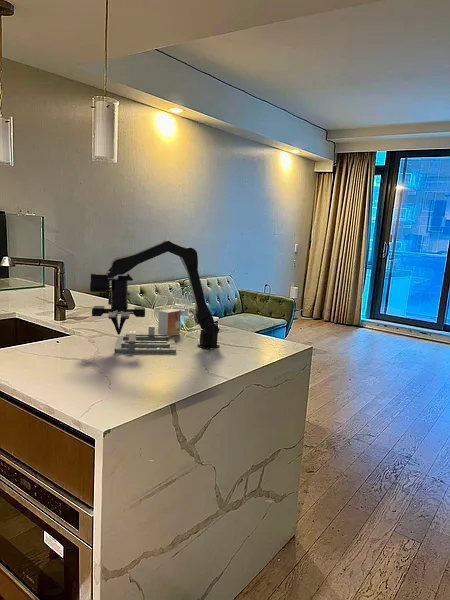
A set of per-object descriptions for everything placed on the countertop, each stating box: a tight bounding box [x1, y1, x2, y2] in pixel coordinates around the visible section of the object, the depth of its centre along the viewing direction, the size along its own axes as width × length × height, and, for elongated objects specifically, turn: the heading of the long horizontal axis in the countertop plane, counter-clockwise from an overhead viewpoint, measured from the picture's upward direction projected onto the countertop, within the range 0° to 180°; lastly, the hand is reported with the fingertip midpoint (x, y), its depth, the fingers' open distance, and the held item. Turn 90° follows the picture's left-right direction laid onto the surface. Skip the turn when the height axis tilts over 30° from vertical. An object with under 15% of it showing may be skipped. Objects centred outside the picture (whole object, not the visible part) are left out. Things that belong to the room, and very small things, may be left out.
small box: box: [157, 308, 182, 337], centre depth 193 cm, size 8×6×10 cm
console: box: [113, 333, 177, 355], centre depth 174 cm, size 22×19×3 cm
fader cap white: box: [128, 330, 137, 343], centre depth 169 cm, size 2×4×5 cm, turn 9°
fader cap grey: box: [147, 324, 156, 336], centre depth 180 cm, size 2×3×5 cm
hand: (118, 334), depth 168 cm, fingers closed
